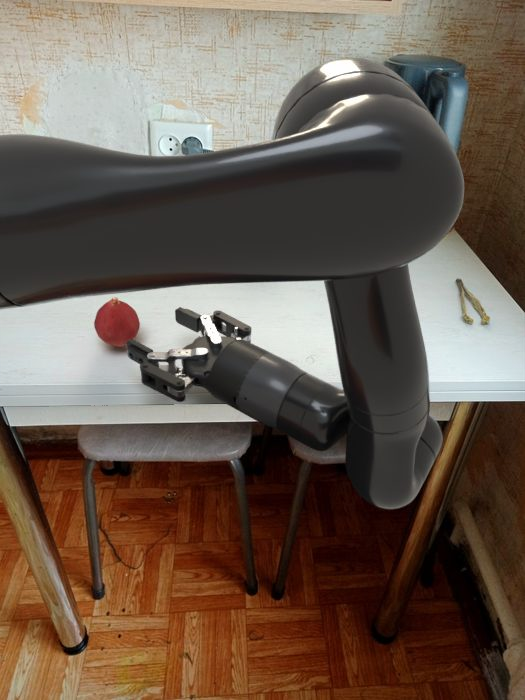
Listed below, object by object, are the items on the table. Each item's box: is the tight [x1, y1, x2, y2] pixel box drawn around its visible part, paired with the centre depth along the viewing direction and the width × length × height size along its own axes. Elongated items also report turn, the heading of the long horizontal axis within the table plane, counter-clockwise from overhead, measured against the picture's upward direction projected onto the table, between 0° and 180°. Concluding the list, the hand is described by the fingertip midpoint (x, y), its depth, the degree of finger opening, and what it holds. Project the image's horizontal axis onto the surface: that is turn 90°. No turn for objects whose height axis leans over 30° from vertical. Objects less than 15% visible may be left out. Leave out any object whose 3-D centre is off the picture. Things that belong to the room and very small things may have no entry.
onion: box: [93, 296, 141, 348], centre depth 68 cm, size 6×6×8 cm
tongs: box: [455, 277, 491, 325], centre depth 84 cm, size 4×13×2 cm, turn 2°
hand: (153, 329), depth 64 cm, fingers open, 8 cm apart
